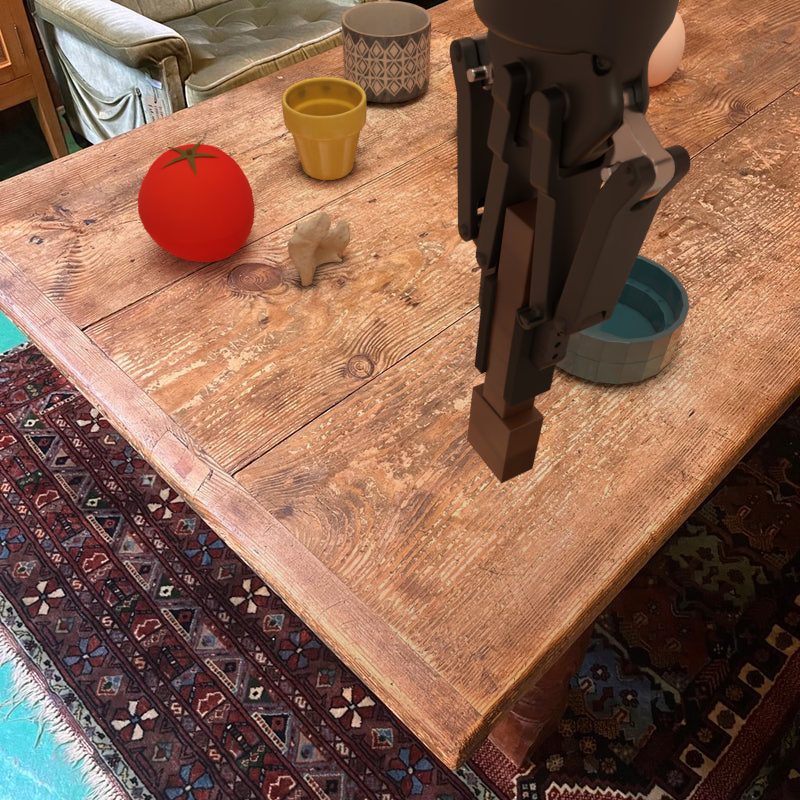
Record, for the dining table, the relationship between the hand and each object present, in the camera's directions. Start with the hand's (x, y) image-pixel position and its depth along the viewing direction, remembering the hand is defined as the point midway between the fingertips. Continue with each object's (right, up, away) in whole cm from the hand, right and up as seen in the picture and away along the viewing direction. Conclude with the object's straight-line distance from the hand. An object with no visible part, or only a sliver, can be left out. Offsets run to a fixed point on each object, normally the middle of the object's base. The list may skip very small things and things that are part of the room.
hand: (511, 377), depth 44 cm
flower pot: (-16, +29, +57) cm, 66 cm away
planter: (-8, +45, +72) cm, 86 cm away
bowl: (+14, +5, +35) cm, 38 cm away
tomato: (-29, +16, +45) cm, 56 cm away
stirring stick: (0, -5, +5) cm, 7 cm away
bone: (-16, +14, +44) cm, 48 cm away
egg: (+31, +47, +74) cm, 93 cm away
